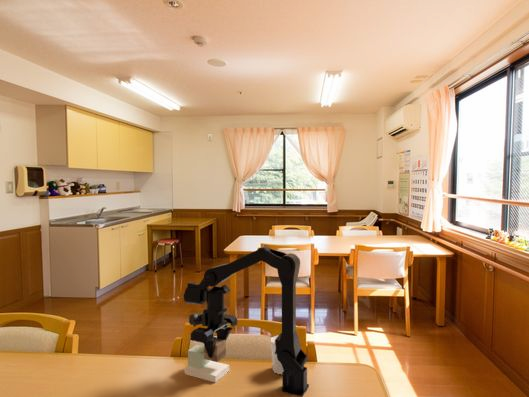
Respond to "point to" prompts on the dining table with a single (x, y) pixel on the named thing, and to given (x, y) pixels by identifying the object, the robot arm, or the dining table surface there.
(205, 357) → the walnut cube
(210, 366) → the l-shaped block
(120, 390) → the dining table surface
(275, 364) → the white cup
